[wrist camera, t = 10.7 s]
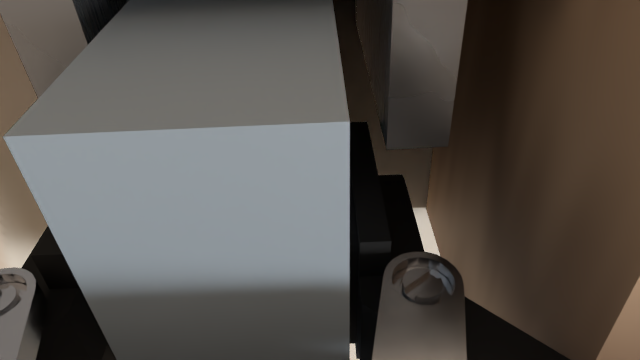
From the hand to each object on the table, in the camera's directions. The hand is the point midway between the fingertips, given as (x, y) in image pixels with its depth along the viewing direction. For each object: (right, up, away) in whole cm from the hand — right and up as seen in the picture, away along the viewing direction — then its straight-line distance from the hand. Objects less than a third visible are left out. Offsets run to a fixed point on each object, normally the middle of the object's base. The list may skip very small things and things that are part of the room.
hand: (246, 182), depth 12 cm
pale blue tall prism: (0, +2, +3) cm, 3 cm away
